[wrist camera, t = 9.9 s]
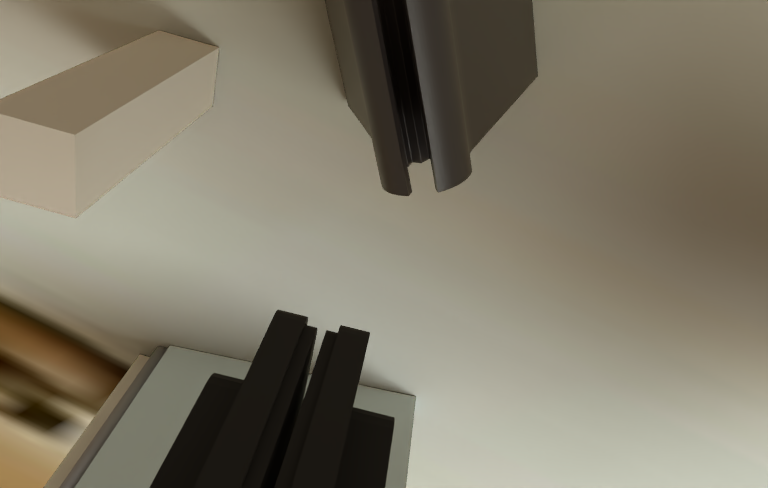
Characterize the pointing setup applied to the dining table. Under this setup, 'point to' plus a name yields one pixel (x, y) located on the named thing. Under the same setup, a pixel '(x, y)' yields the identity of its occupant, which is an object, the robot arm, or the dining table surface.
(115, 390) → the hinge post
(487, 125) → the phone stand
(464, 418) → the dining table surface
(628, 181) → the dining table surface
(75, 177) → the post
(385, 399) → the door
